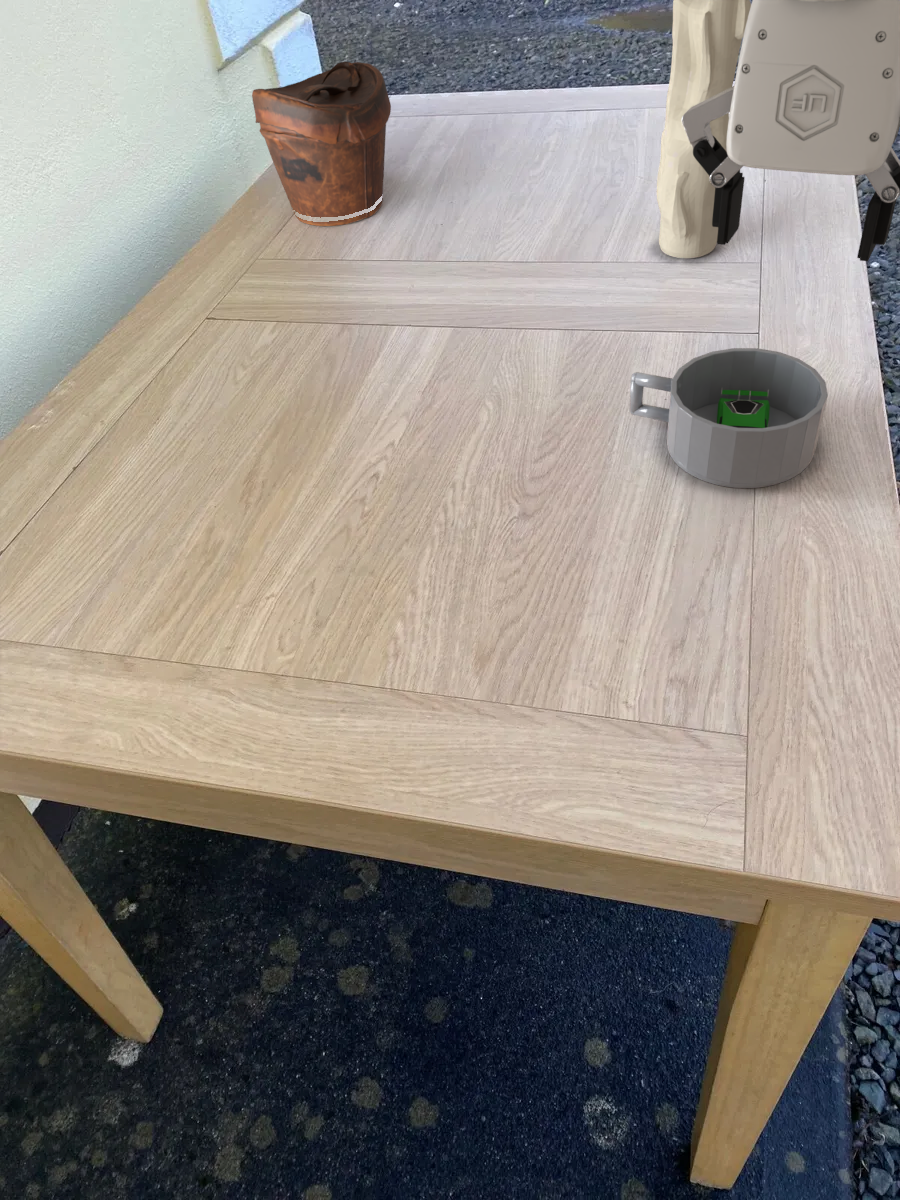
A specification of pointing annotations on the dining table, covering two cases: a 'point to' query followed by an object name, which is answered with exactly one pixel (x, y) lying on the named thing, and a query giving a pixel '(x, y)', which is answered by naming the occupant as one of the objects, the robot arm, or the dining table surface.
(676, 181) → the dripping pillar candle
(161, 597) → the dining table surface
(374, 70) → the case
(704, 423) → the measuring cup
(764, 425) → the toy car
